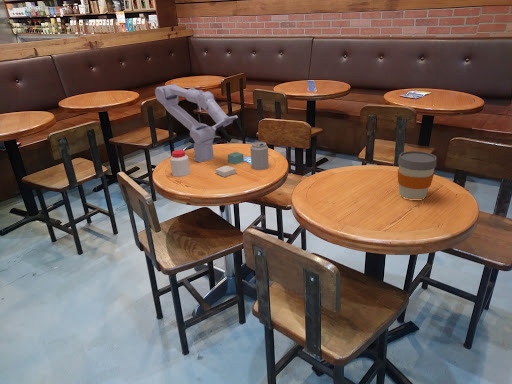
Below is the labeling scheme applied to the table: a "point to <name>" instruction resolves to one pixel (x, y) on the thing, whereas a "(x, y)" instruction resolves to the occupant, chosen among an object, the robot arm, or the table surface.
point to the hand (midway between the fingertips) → (236, 137)
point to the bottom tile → (226, 176)
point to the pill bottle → (179, 163)
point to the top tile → (225, 171)
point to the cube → (235, 158)
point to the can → (259, 156)
